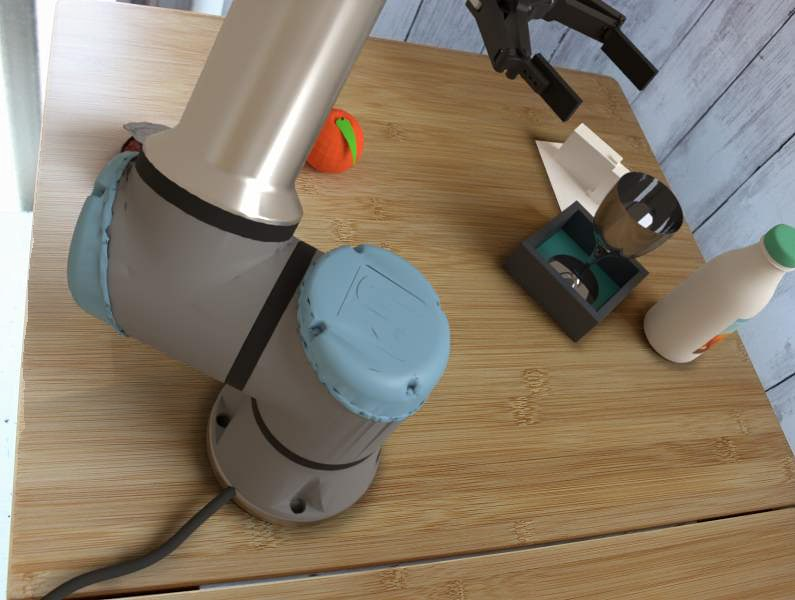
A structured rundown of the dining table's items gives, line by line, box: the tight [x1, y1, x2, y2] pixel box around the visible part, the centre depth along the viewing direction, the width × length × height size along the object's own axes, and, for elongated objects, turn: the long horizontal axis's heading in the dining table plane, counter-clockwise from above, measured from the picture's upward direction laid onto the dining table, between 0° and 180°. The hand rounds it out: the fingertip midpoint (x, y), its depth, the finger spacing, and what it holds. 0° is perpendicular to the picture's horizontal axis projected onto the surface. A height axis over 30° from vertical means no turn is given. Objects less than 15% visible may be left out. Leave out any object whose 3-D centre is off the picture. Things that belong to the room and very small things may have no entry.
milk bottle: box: [643, 223, 795, 364], centre depth 91 cm, size 8×8×20 cm
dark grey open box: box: [501, 200, 650, 343], centre depth 96 cm, size 12×12×5 cm
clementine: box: [306, 107, 365, 174], centre depth 90 cm, size 8×7×7 cm
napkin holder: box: [535, 122, 631, 217], centre depth 105 cm, size 15×11×6 cm
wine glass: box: [548, 171, 684, 305], centre depth 91 cm, size 8×8×15 cm
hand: (613, 96), depth 84 cm, fingers open, 13 cm apart
